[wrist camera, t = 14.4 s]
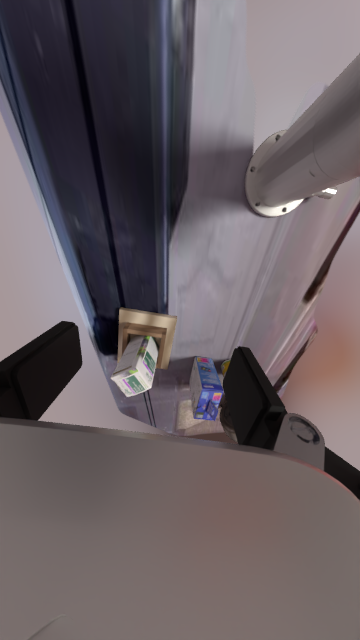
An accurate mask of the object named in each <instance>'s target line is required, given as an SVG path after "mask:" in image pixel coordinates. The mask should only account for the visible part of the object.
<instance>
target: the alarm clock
mask: <svg viewBox="0 0 360 640" xmlns="http://www.w3.org/2000/svg"><path fill="white" fill-rule="evenodd" d="M221 407H222V409H221V412H220V422H221V424H222V426H223V429H224V431H225V433H226V434H227V436H228V437H229V438H231V439H232V440H234V441H236V442H238V441H237V438H236V434H235V430H234V426H233V423H232V419H231V415H230V412H229V408H228V404H227V403H226V404H225V405H224V406H222V405H221Z"/></svg>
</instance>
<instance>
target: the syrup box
mask: <svg viewBox="0 0 360 640" xmlns="http://www.w3.org/2000/svg"><path fill="white" fill-rule="evenodd" d="M159 347H160V346H159V344H158V343H157V341H156V339H155V338H154V337H151V336H145V335H137V336H135V337H133V338H131V340H130V342H129V344H128V346H127V347H126V349H125V351H124V353H123V355H122V357H121V359H120V361H119V363H118V365H117V367H116V369H115V370H114V372H113V374H112V376H111V379H112V380H113V381H114V382H115V383H116V384H117V386H118V387H119V388H120V389H121V391H122V392H123V393H124V394H125V395H126V396H127V397H129V396H133V395H136V394H139V393H141V392H144V391H146V390H148V389H150V388H151V387H152V382H153V377H154V372H155V367H156V362H157V357H158V352H159Z"/></svg>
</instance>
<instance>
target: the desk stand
mask: <svg viewBox="0 0 360 640" xmlns="http://www.w3.org/2000/svg"><path fill="white" fill-rule="evenodd" d="M176 321H177V316H171V315H165V314H158V313H152V312H146V311H140V310H134V309H127V308H121V309H120V310H119V337H118V363H119V361H120V359H121V357H122V355H123V353H124V351H125V349H126V347H127V346H128V344H129V342H130V340H131V338H133V337H135V336H137V335H145V336H151V337H154V338H155V339H156V341H157V343H158V344H159V346H160V347H159V352H158V357H157V362H156V367H155V368H159V369H168V364H169V358H170V353H171V348H172V342H173V337H174V332H175V326H176Z"/></svg>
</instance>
